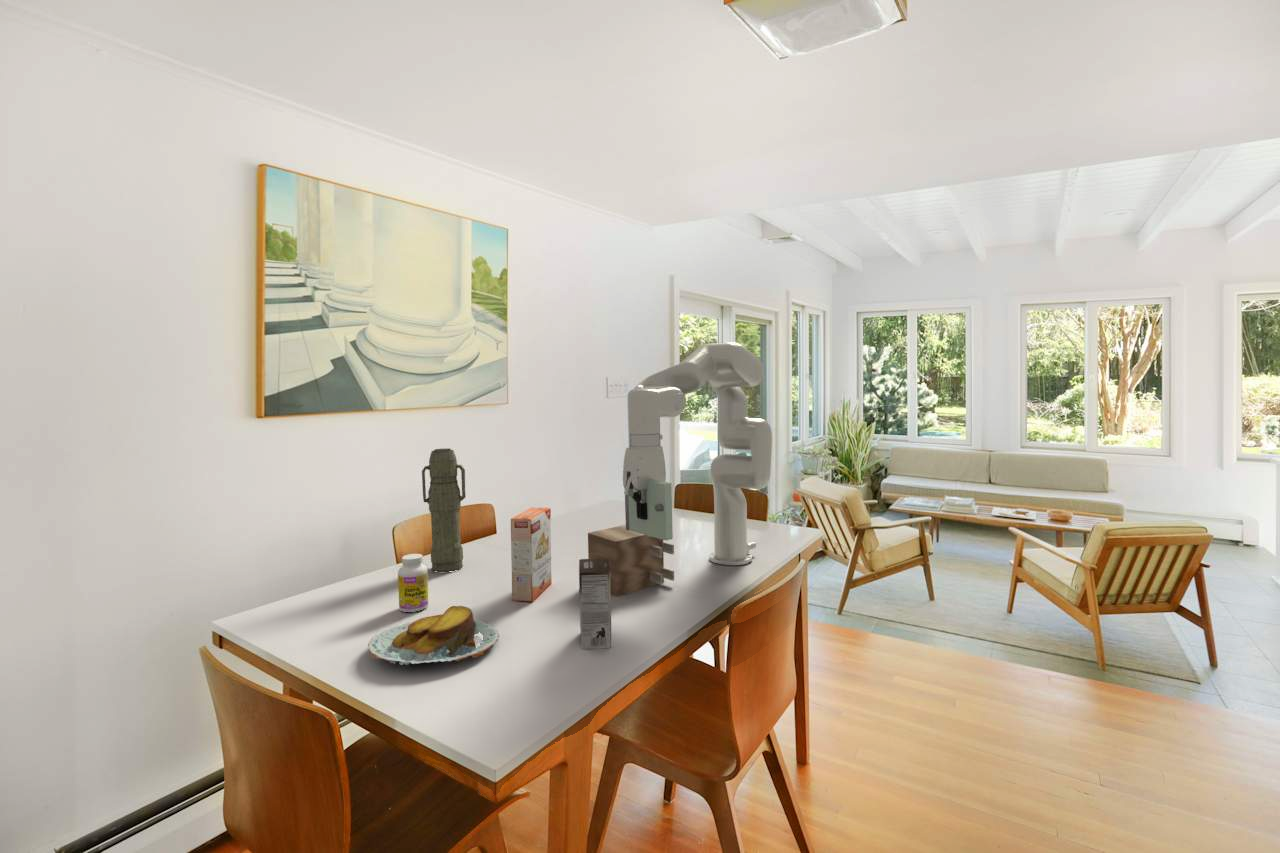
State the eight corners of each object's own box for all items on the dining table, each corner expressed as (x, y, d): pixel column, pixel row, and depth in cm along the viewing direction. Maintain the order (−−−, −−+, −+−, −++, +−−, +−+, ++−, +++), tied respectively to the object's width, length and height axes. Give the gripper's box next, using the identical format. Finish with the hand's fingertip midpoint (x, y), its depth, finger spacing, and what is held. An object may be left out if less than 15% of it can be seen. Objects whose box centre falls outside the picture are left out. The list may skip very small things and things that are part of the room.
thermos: (470, 570, 177) (465, 449, 174) (427, 575, 173) (421, 452, 170) (467, 561, 185) (462, 446, 182) (425, 566, 181) (420, 449, 178)
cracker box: (534, 603, 150) (531, 519, 148) (511, 601, 151) (508, 518, 150) (553, 584, 164) (551, 506, 162) (532, 582, 165) (530, 506, 163)
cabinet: (635, 571, 173) (634, 522, 172) (674, 585, 161) (674, 533, 160) (589, 584, 163) (587, 532, 162) (627, 600, 150) (626, 544, 149)
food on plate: (362, 641, 130) (361, 611, 130) (478, 616, 143) (477, 589, 143) (380, 692, 109) (378, 656, 108) (515, 658, 121) (514, 625, 121)
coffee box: (580, 631, 133) (579, 558, 131) (610, 629, 133) (609, 557, 132) (580, 649, 124) (578, 571, 122) (612, 648, 124) (610, 570, 123)
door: (631, 527, 152) (629, 475, 151) (673, 538, 141) (671, 482, 140) (620, 529, 150) (619, 477, 149) (662, 541, 139) (660, 485, 138)
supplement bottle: (401, 615, 143) (398, 562, 142) (397, 606, 149) (395, 555, 148) (430, 610, 146) (428, 557, 145) (426, 601, 152) (424, 551, 151)
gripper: (659, 437, 152) (660, 509, 154) (608, 443, 142) (610, 521, 144) (679, 439, 146) (681, 514, 148) (628, 445, 136) (630, 526, 138)
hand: (646, 517), depth 146 cm, fingers closed on door, 2 cm apart
